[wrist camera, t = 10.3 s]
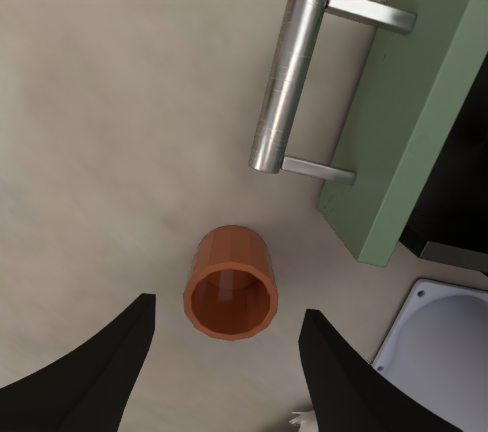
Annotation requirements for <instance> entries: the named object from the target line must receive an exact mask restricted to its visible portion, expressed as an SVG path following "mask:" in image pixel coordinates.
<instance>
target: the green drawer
mask: <svg viewBox="0 0 488 432" xmlns="http://www.w3.org/2000/svg"><path fill="white" fill-rule="evenodd" d="M324 12H326V13H329V14H332V15H336V16H339V17H343V18H346V19H349V20H353V21H356V22H359V23H363V24H366V25H370V26H373V27H376V28H378V30H377V33H376V35H375V38H374V41H373V44H372V47H371V50H370V53H369V56H368V59H367V62H366V64H365V67H364V70H363V73H362V76H361V79H360V82H359V85H358V88H357V90H356V93H355V96H354V99H353V102H352V105H351V108H350V111H349V114H348V116H347V119H346V122H345V125H344V128H343V131H342V134H341V137H340V140H339V143H338V145H337V148H336V151H335V154H334V157H333V160H332V163H331V165H327V164H323V163H318V162H314V161H310V160H306V159H302V158H298V157H293V156H289V155H285V154H284V153H285V149H286V146H287V142H288V138H289V135H290V131H291V128H292V124H293V121H294V117H295V114H296V110H297V107H298V103H299V100H300V96H301V93H302V89H303V86H304V82H305V79H306V75H307V71H308V68H309V64H310V61H311V57H312V54H313V50H314V47H315V43H316V40H317V36H318V33H319V29H320V26H321V22H322V19H323V15H324ZM248 166H249V167H251V168H253V169H255V170H258V171H261V172H265V173H271V174H277V173H279V170H280V168H281V169H282V170H285V171H290V172H294V173H298V174H303V175H307V176H311V177H315V178H320V179H324V180H325V183H324V186H323V189H322V192H321V195H320V197H319V200H318V203H317V206H316V207H317V209H318V210H319V211H320V213H321V214H322V215H323V217H324V218H325V219H326V221H327V222H328V223H329V225H330V226H331V227H332V229H333V230H334V231H335V233H336V234H337V235H338V237H339V238H340V239H341V241H342V242H343V243H344V244H345V246H346V247H347V248H348V250H349V251H350V252H351V254H352V255H353V256H354V258H355V259H356V260H357V261H358V262H362V263H366V264H371V265H376V266H381V267H386V265H387V263H388V261H389V259H390V257H391V255H392V252H393V250H394V248H395V246H396V244H397V242H398V241H400V242H401V243H402V244H403V245H404V246H405V247H407V248H408V249H409V250H410V251H411V252H412V253H414V254H415V255H416V256H417V257H418V258H420V259H424V260H429V261H434V262H438V263H443V264H448V265H452V266H457V267H462V268H466V269H471V270H476V271H481V272H485V273H488V0H388V1H387V4H382V3H379V2H376V1H373V0H288V1H287V5H286V9H285V13H284V18H283V22H282V26H281V30H280V34H279V38H278V42H277V47H276V51H275V55H274V59H273V63H272V67H271V71H270V75H269V80H268V84H267V88H266V92H265V96H264V100H263V104H262V108H261V113H260V117H259V121H258V125H257V129H256V133H255V137H254V141H253V146H252V150H251V154H250V158H249V162H248Z"/></svg>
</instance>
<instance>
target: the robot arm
mask: <svg viewBox="0 0 488 432" xmlns="http://www.w3.org/2000/svg"><path fill="white" fill-rule="evenodd" d="M420 291H421V292H420ZM418 292H420V293H418ZM155 304H156V294H146V293H142V294H141V295H140V296H139V297H138V298H136V299H135V300H134V301H133V302H132V303H131V304H130V305H129V306H128V307H127V308H126V309H125V310H124V311H123V312H122V313H121V314H119V315H118V316H117V317H116V318H115V319H114V320H113V321H112V322H110V323H109V324H108V325H107V326H106V327H104V328H103V329H102V330H101V331H99V332H98V333H97V334H96V335H94V336H93V337H92V338H90V339H89V340H88V341H86V342H85V343H83V344H82V345H80V346H79V347H78V348H76V349H75V350H73V351H72V352H70V353H68V354H67V355H65V356H63V357H62V358H60V359H58V360H57V361H55V362H53V363H51V364H50V365H48V366H46V367H44V368H42V369H40V370H39V371H37V372H35V373H33V374H31V375H29V376H27V377H25V378H23V379H21V380H19V381H16V382H14V383H12V384H10V385H7V386H5V387H3V388H1V389H0V432H117V430H118V427H119V424H120V421H121V418H122V415H123V412H124V409H125V406H126V403H127V401H128V398H129V396H130V393H131V391H132V389H133V386H134V384H135V382H136V379H137V377H138V375H139V372H140V370H141V368H142V365H143V363H144V360H145V358H146V356H147V353H148V351H149V348H150V344H151V341H152V338H153V334H154V331H155ZM298 343H299V351H300V358H301V363H302V367H303V371H304V375H305V379H306V382H307V386H308V390H309V393H310V397H311V400H312V404H313V408H314V411H315V416H316V420H317V425H318V430H319V432H488V292H487V291H482V290H477V289H472V288H467V287H462V286H457V285H452V284H448V283H443V282H438V281H433V280H428V279H420V280H418V281H416V283H415V284H414V286H413V288H412V290H411V292H410V294H409V296H408V298H407V299H406V301H405V303H404V305H403V307H402V309H401V311H400V313H399V315H398V316H397V318H396V320H395V322H394V324H393V326H392V328H391V330H390V332H389V333H388V335H387V337H386V339H385V341H384V343H383V345H382V347H381V349H380V350H379V352H378V354H377V356H376V358H375V360H374V362H373V364H372V366H370V365H369V364H368V363H367V362H366V361H365V360H364V359H363V358H362V357H361V356H360V355H359V354H358V353H357V352H356V351H355V350H354V349H353V348H352V347H351V346H350V345H349V344H348V343H347V341H346V340H345V339H344V338H343V337H342V336H341V335H340V334H339V333H338V331H337V330H336V329H335V328H334V327H333V326H332V324H331V323H330V322H329V321H328V320H327V319H326V317H325V316H324V315H323V314H322V313H321V312H320V311H319V310H314V309H306V313H305V317H304V321H303V325H302V329H301V333H300V337H299V341H298Z"/></svg>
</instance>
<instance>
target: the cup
mask: <svg viewBox="0 0 488 432" xmlns="http://www.w3.org/2000/svg"><path fill="white" fill-rule="evenodd" d="M183 301H184V312H185V314H186V315H187V317H188V318H189V320H190V321H191V323H192V324H193V326H194V327H195V328H196V329H198V330H200V331H201V332H203V333H205V334H206V335H208V336H210V337H212V338H217V339H223V340H229V341H233V340H239V339H244V338H249V337H252V336H254V335H255V334H257V333H259V332H260V331H262V330H263V329H265V328H267V327H268V325H269V324H270V322H271V321H272V319H273V317H274V316H275V314H276V313H277V306H278V292H277V287H276V282H275V277H274V272H273V268H272V263H271V258H270V255H269V252H268V249H267V246H266V244H265V242H264V241H263V240H262V238H261V237H260V236H259V235H258V234H256V233H255V232H253V231H252V230H250V229H247V228H244V227H241V226H224V227H220V228H217V229H215V230H213V231H211V232H210V233H208V234H207V235H206V236H205V237H204V238H203V239H202V241H201V242H200V244H199V246H198V248H197V251H196V254H195V256H194V259H193V262H192V266H191V269H190V273H189V276H188V280H187V283H186V286H185V290H184V293H183Z"/></svg>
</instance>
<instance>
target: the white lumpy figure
mask: <svg viewBox="0 0 488 432" xmlns="http://www.w3.org/2000/svg"><path fill="white" fill-rule="evenodd" d="M292 413H293V414H294V413H297V414H301V415H299V416H298V417H297V418H295V419H293V420H291V421H293V422H292V424H294V423H296V422H298V421H299V422H298V423H300V422H301V423H300V424H301V427H300V429H299V432H319V430H318V425H317V420H316V416H315V411H314V410H313V411H309V412H307V413H306V412H292ZM301 419H302V420H301ZM291 421H289V422H291ZM298 423H297V424H298ZM295 425H296V424H295ZM293 426H294V425H293ZM297 426H298V425H297Z"/></svg>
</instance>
